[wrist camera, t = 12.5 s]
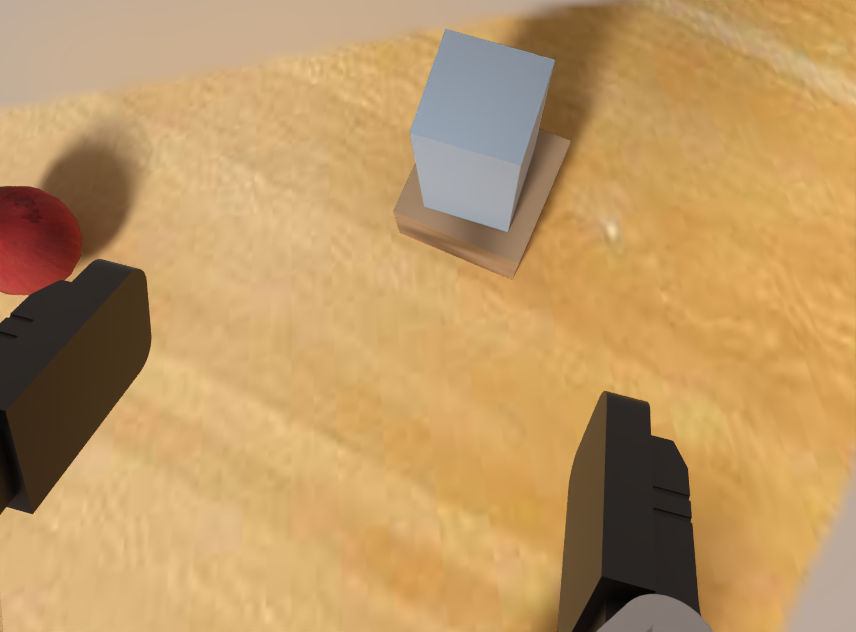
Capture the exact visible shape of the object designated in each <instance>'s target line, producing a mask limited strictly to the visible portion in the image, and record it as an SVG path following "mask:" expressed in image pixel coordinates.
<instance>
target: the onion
mask: <svg viewBox="0 0 856 632" xmlns="http://www.w3.org/2000/svg"><path fill="white" fill-rule="evenodd" d="M81 246H82V236H81V233H80V229H79V226H78V222H77V219H76V218H75V217H74V216H73V214H72V213H71V212H70V211H69V209H68V208H67V207H66V206H65V205H64V204H63V203H62V202H61V201H60V200H59V199H58V198H56V197H54V196H52V195H50V194H48V193H46V192H44V191H42V190H40V189H37V188H33V187H29V186H4V187H0V292H2V293H5V294H10V295H31V294H32V293H34V292H36V291H38V290H40V289H42V288H44V287H46V286H48V285H50V284H53V283H55V282H57V281H59V280H65V279H66V278H67V277H69V276H70V275H71V274H72V272H73V270H74V268H75V266H76V264H77V262H78V260H79V259H80V254H81Z"/></svg>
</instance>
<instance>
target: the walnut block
mask: <svg viewBox="0 0 856 632" xmlns="http://www.w3.org/2000/svg"><path fill="white" fill-rule="evenodd" d="M570 143H571V141H570V140H567V139H565V138H562V137H560V136H557V135H555V134H552V133H550V132H547V131H544V130H542V129H539V132H538V136H537V141H536V145H535V149H534V153H533V156H532V159H531V162H530V165H529V168H528V171H527V175H526V178H525V181H524V184H523V187H522V190H521V193H520V196H519V199H518V202H517V206H516V209H515V212H514V215H513V218H512V221H511V224H510V227H509V230H508V232H506V231H502V230H499V229H496V228H493V227H489V226H486V225H483V224H479V223H476V222H473V221H470V220H466V219H463V218H460V217H456V216H453V215H450V214H447V213H443V212H440V211H437V210H433V209H430V208H427V207H424V203H423V198H422V193H421V188H420V183H419V178H418V173H417V168H416V163H415V164H414V167H413V169H412V171H411V173H410V175H409V178H408V180H407V182H406V184H405V187H404V189H403V191H402V193H401V195H400V198H399V200H398V202H397V204H396V207H395V209H394V215H395V218H396V221H397V224H398V228H399V231H400V233H401V234H404V235H406V236H409V237H411V238H413V239H416V240H418V241H421V242H423V243H425V244H428V245H430V246H433V247H435V248H437V249H440V250H442V251H444V252H447V253H449V254H452V255H454V256H456V257H459V258H461V259H464V260H466V261H468V262H471V263H473V264H475V265H478V266H480V267H483V268H485V269H487V270H490V271H492V272H495V273H497V274H499V275H502V276H504V277H507V278H509V279H511V280H512V279H513V277H514V275H515V272H516V270H517V268H518V265H519V263H520V261H521V258H522V256H523V253H524V251H525V249H526V246H527V244H528V242H529V239H530V237H531V235H532V232H533V230H534V228H535V225H536V223H537V221H538V218H539V216H540V214H541V211H542V209H543V207H544V204H545V202H546V200H547V197H548V195H549V193H550V190H551V188H552V186H553V183H554V181H555V179H556V176H557V174H558V171H559V169H560V167H561V164H562V162H563V160H564V157H565V155H566V152H567V150H568V148H569V145H570Z"/></svg>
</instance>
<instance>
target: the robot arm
mask: <svg viewBox="0 0 856 632" xmlns="http://www.w3.org/2000/svg"><path fill="white" fill-rule="evenodd" d="M150 347H151V325H150V314H149V302H148V291H147V280H146V276H145V273H144V272H143V271H142V270H141V269H137V268H133V267H129V266H126V265H122V264H118V263H114V262H110V261H106V260H102V259H97V260H95V261H93V262H92V263H90V264H89V265H88V266H87V267H86V268H85V269H84V270H83V271H82V272H81V273H80V274H79V275H78V276H77V277H76V278H75V279H74V280H73V281H72V282H68V281H65V280H59V281H57V282H55V283H53V284H50V285H48V286H46V287H44V288H42V289H40V290H38V291H36V292H34V293H32V294H31V295H29V296H28V297H27V298H26V299H25V300H24V301H23V302H22V303H21V304H20V305H19V306H18V307H17V308H16V309H15V310H14V311H13V312H12V313H11V315H10V317H9V318H7V317H6V318H5V319H4V320H3V321H2V322H1V323H0V514H1V513H2V512H3V510H4V509H5V508H6V507H9V508H12V509H16V510H20V511H23V512H27V513H30V514H33V513H34V512H35V511H36V509H37V508H38V507H39V505H40V504H41V503H42V501H43V500H44V499H45V497H46V496H47V495H48V493H49V492H50V491H51V489H52V488H53V487H54V485H55V484H56V483H57V481H58V480H59V479H60V477H61V476H62V475H63V474H64V472H65V471H66V470H67V468H68V467H69V466H70V464H71V463H72V462H73V460H74V459H75V458H76V456H77V455H78V454H79V452H80V451H81V450H82V448H83V447H84V446H85V444H86V443H87V442H88V440H89V439H90V438H91V436H92V435H93V434H94V432H95V431H96V430H97V428H98V427H99V426H100V424H101V423H102V422H103V421H104V419H105V418H106V417H107V415H108V414H109V413H110V411H111V410H112V409H113V407H114V406H115V405H116V403H117V402H118V401H119V399H120V398H121V397H122V395H123V394H124V393H125V391H126V390H127V389H128V387H129V386H130V385H131V383H132V382H133V381H134V379H135V378H136V377H137V375H138V374H139V373H140V371H141V370H142V368H143V367H144V365H145V362H146V360H147V358H148V355H149V351H150ZM689 497H690V489H689V477H688V468H687V466H686V464H685V462H684V460H683V458H682V456H681V455H680V453H679V451H678V449H677V447H676V445H675V443H674V441H671V440H668V439H664V438H660V437H656V436H652V435H651V422H650V406H649V403H648V402H646V401H642V400H638V399H634V398H630V397H627V396H623V395H619V394H615V393H611V392H607V391H604V392H603V393H602V394H601V396H600V398H599V400H598V402H597V405H596V407H595V409H594V412H593V414H592V416H591V419H590V421H589V424H588V426H587V428H586V431H585V433H584V435H583V438H582V440H581V443H580V445H579V447H578V450H577V452H576V455H575V459H574V462H573V466H572V470H571V475H570V480H569V489H568V502H567V514H566V527H565V540H564V553H563V566H562V579H561V592H560V604H559V617H558V630H557V632H713V631H712V630H711V628H710V627H709V625H708V624H707V623H706V621H705V620H704V619H703V618H702V617H701V614H700V609H699V601H698V589H697V576H696V564H695V551H694V539H693V527H692V523H691V518H692V514H691V502H690V501H689ZM0 632H3V626H2V612H1V599H0Z"/></svg>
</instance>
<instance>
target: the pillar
mask: <svg viewBox="0 0 856 632" xmlns="http://www.w3.org/2000/svg"><path fill="white" fill-rule="evenodd" d="M554 64H555V59H551V58H548V57H544V56H540V55H537V54H533V53H530V52H526V51H523V50H519V49H516V48H512V47H508V46H505V45H501V44H498V43H494V42H491V41H487V40H484V39H480V38H476V37H473V36H469V35H466V34H462V33H459V32H455V31H452V30H448V29H445V32H444V35H443V38H442V40H441V43H440V46H439V49H438V52H437V55H436V58H435V61H434V64H433V67H432V69H431V72H430V75H429V78H428V81H427V84H426V87H425V90H424V93H423V95H422V98H421V101H420V104H419V107H418V110H417V113H416V116H415V119H414V121H413V124H412V127H411V130H410V137H411V142H412V148H413V153H414V158H415V163H416V168H417V173H418V178H419V183H420V188H421V193H422V198H423V203H424V207H427V208H430V209H433V210H437V211H440V212H443V213H447V214H450V215H453V216H456V217H460V218H463V219H466V220H470V221H473V222H476V223H479V224H483V225H486V226H489V227H493V228H496V229H499V230H502V231H506V232H508V230H509V227H510V224H511V221H512V218H513V215H514V212H515V209H516V206H517V202H518V199H519V196H520V193H521V190H522V187H523V184H524V181H525V178H526V175H527V171H528V168H529V165H530V162H531V159H532V156H533V153H534V149H535V145H536V141H537V136H538V132H539V128H540V123H541V119H542V115H543V111H544V106H545V102H546V98H547V93H548V89H549V85H550V81H551V76H552V72H553V68H554Z"/></svg>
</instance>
